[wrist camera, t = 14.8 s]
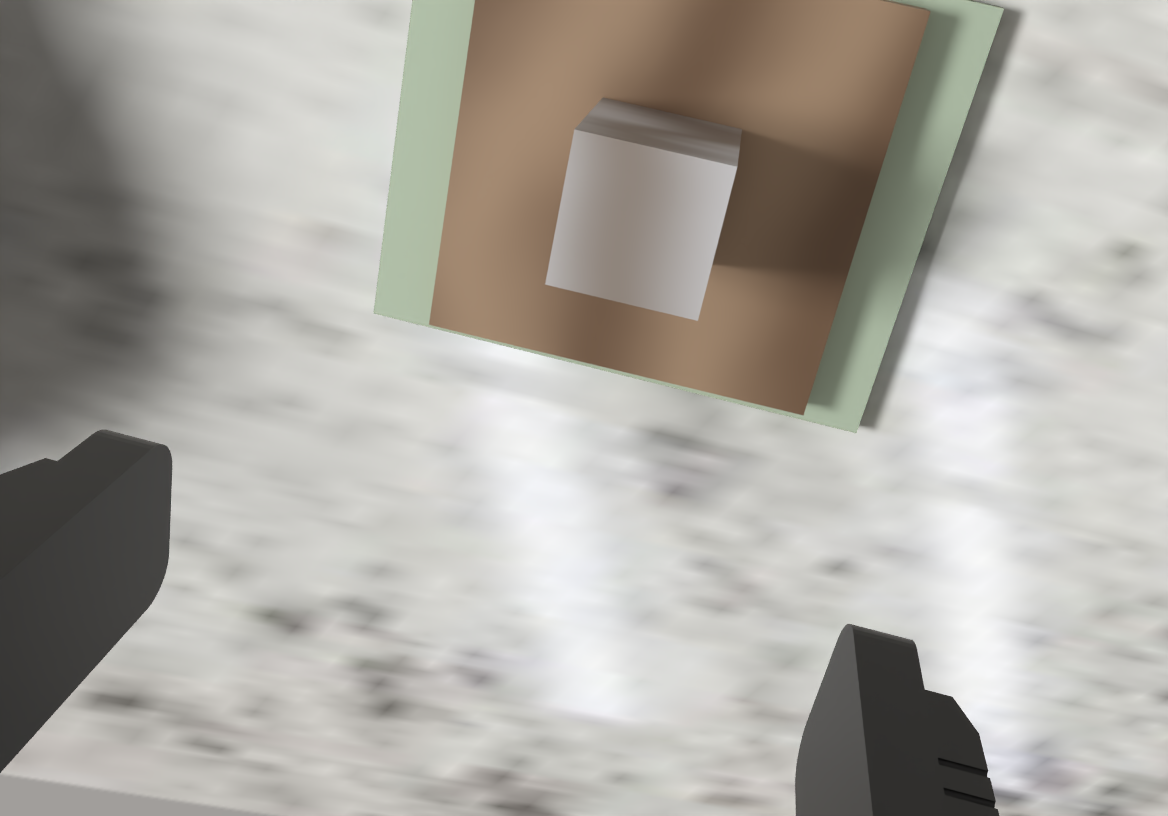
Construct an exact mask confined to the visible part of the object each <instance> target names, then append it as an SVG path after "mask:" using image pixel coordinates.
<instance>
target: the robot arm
mask: <svg viewBox="0 0 1168 816" xmlns="http://www.w3.org/2000/svg"><path fill="white" fill-rule="evenodd" d="M171 486H172V457H171V453H170V450H169V449H168V447H167V446H165V445H162V444H159V443H155V442H151V441H147V440H143V439H139V438H135V437H132V436H128V435H124V434H120V433H116V432H112V431H108V430H100V431H97V432H95V433H94V434H92V435H91V436H90V437H88V438H87V439H86V440H85V441H83V442H82V443H81V444H79V445H78V446H77V447H75V448H74V449H73V450H72V451H70V452H69V453H68V454H66V455H65V456H64V457H62V458H61V459H60V460H59V461H54V460H50V459H46V458H45V459H42V460H39V461H36V462H34V463H31V464H28V465H25V466H23V467H20V468H17V469H14V470H12V471H9V472H6V473H3V474H1V475H0V773H1V771H2V770H3V769H4V768H5V767H6V766H7V765H8V764H9V763H10V761H11V760H12V759H13V758H14V757H15V756H16V755H17V754H18V753H19V751H20V750H21V749H22V748H23V747H24V746H25V745H26V744H27V742H28V741H29V740H30V739H31V738H32V737H33V736H34V735H35V734H36V732H37V731H38V730H39V729H40V728H41V727H42V726H43V725H44V724H45V722H46V721H47V720H48V719H49V718H50V717H51V716H52V715H53V713H54V712H55V711H56V710H57V709H58V708H59V707H60V706H61V705H62V703H63V702H64V701H65V700H66V699H67V698H68V697H69V696H70V695H71V693H72V692H73V691H74V690H75V689H76V688H77V687H78V686H79V684H80V683H81V682H82V681H83V680H84V679H85V678H86V677H87V676H88V674H89V673H90V672H91V671H92V670H93V669H94V668H95V667H96V666H97V664H98V663H99V662H100V661H101V660H102V659H103V658H104V657H105V656H106V654H107V653H108V652H109V651H110V650H111V649H112V648H113V647H114V645H115V644H116V643H117V642H118V641H119V640H120V639H121V638H122V637H123V635H124V634H125V633H126V632H127V631H128V630H129V629H130V628H131V627H132V625H133V624H134V623H135V622H136V621H137V620H138V619H139V618H140V616H141V615H142V614H143V613H144V612H145V611H146V610H147V609H148V607H149V606H150V605H151V603H152V602H153V600H154V599H155V597H156V595H157V593H158V591H159V589H160V587H161V584H162V582H163V579H164V576H165V573H166V569H167V564H168V558H169V539H170V512H171ZM987 772H988V768H987V764H986V760H985V756H984V752H983V748H982V744H981V740H980V736H979V733H978V732H977V730H976V729H975V728H974V726H973V725H972V723H971V722H970V721H969V719H968V718H967V717H966V715H965V714H964V712H963V711H962V710H961V708H960V707H959V705H958V704H957V703H956V701H955V700H954V699H953V697H951V696H947V695H943V694H939V693H936V692H932V691H928V690H925V689H924V684H923V679H922V674H921V668H920V663H919V658H918V653H917V648H916V645H915V643H914V641H913V640H910V639H906V638H902V637H898V636H894V635H890V634H887V633H883V632H879V631H875V630H871V629H867V628H863V627H859V626H856V625H852V624H847V625H846V626H845V627H844V628H843V630H842V631H841V633H840V636H839V638H838V640H837V643H836V646H835V648H834V651H833V654H832V656H831V659H830V662H829V664H828V667H827V670H826V672H825V675H824V678H823V680H822V683H821V686H820V688H819V691H818V694H817V696H816V699H815V702H814V705H813V707H812V710H811V713H810V715H809V718H808V721H807V723H806V726H805V729H804V733H803V736H802V740H801V744H800V749H799V754H798V759H797V766H796V778H795V793H796V816H999V813H998V809H995V808H994V806H995V802H996V801H995V797H994V793H993V789H992V785H991V781H990V778H988V777H987Z"/></svg>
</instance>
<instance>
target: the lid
mask: <svg viewBox="0 0 1168 816" xmlns="http://www.w3.org/2000/svg"><path fill="white" fill-rule="evenodd" d="M930 12H931V11H929V10H927V9H926V8H921V7H917V6H912V5H908V4H903V3H899V2H894V1H890V0H475V4H474V11H473V18H472V25H471V32H470V39H469V46H468V53H467V60H466V67H465V74H464V81H463V88H462V95H461V102H460V109H459V116H458V123H457V130H456V137H455V144H454V151H453V159H452V166H451V173H450V180H449V187H448V194H447V201H446V208H445V215H444V222H443V229H442V236H441V243H440V250H439V257H438V264H437V271H436V278H435V285H434V292H433V299H432V306H431V313H430V320H429V325H432V326H436V327H440V328H444V329H448V330H452V331H457V332H461V333H465V334H469V335H473V336H477V337H481V338H485V339H490V340H494V341H498V342H502V343H506V344H510V345H514V346H518V347H523V348H527V349H531V350H535V351H539V352H543V353H547V354H551V355H556V356H560V357H564V358H568V359H572V360H576V361H580V362H584V363H589V364H593V365H597V366H601V367H605V368H609V369H613V370H618V371H622V372H626V373H630V374H634V375H638V376H642V377H646V378H651V379H655V380H659V381H663V382H667V383H671V384H675V385H679V386H684V387H688V388H692V389H696V390H700V391H704V392H708V393H712V394H717V395H721V396H725V397H729V398H733V399H737V400H741V401H745V402H750V403H754V404H758V405H762V406H766V407H770V408H774V409H779V410H783V411H787V412H791V413H795V414H799V415H803V416H804V412H805V409H806V406H807V403H808V400H809V396H810V393H811V390H812V387H813V384H814V381H815V377H816V374H817V371H818V368H819V365H820V362H821V358H822V355H823V352H824V349H825V346H826V342H827V339H828V336H829V333H830V330H831V327H832V323H833V320H834V317H835V314H836V311H837V308H838V304H839V301H840V298H841V295H842V292H843V288H844V285H845V282H846V279H847V276H848V273H849V269H850V266H851V263H852V260H853V257H854V254H855V250H856V247H857V244H858V241H859V238H860V234H861V231H862V228H863V225H864V222H865V219H866V215H867V212H868V209H869V206H870V203H871V200H872V196H873V193H874V190H875V187H876V184H877V180H878V177H879V174H880V171H881V168H882V165H883V161H884V158H885V155H886V152H887V149H888V146H889V142H890V139H891V136H892V133H893V130H894V126H895V123H896V120H897V117H898V114H899V111H900V107H901V104H902V101H903V98H904V95H905V92H906V88H907V85H908V82H909V79H910V76H911V72H912V69H913V66H914V63H915V60H916V57H917V53H918V50H919V47H920V44H921V41H922V38H923V34H924V31H925V28H926V25H927V22H928V18H929V15H930Z"/></svg>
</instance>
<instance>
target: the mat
mask: <svg viewBox="0 0 1168 816" xmlns="http://www.w3.org/2000/svg"><path fill="white" fill-rule="evenodd" d="M890 1H894V2H899V3H903V4H908V5H912V6H917V7H921V8H926V9H927V10H929V11H931V12H930V15H929V18H928V22H927V25H926V28H925V31H924V34H923V38H922V41H921V44H920V47H919V50H918V53H917V57H916V60H915V63H914V66H913V69H912V72H911V76H910V79H909V82H908V85H907V88H906V92H905V95H904V98H903V101H902V104H901V107H900V111H899V114H898V117H897V120H896V123H895V126H894V130H893V133H892V136H891V139H890V142H889V146H888V149H887V152H886V155H885V158H884V161H883V165H882V168H881V171H880V174H879V177H878V180H877V184H876V187H875V190H874V193H873V196H872V200H871V203H870V206H869V209H868V212H867V215H866V219H865V222H864V225H863V228H862V231H861V234H860V238H859V241H858V244H857V247H856V250H855V254H854V257H853V260H852V263H851V266H850V269H849V273H848V276H847V279H846V282H845V285H844V288H843V292H842V295H841V298H840V301H839V304H838V308H837V311H836V314H835V317H834V320H833V323H832V327H831V330H830V333H829V336H828V339H827V342H826V346H825V349H824V352H823V355H822V358H821V362H820V365H819V368H818V371H817V374H816V377H815V381H814V384H813V387H812V390H811V393H810V396H809V400H808V403H807V406H806V409H805V412H804V416H803V415H799V414H795V413H791V412H787V411H783V410H779V409H774V408H770V407H766V406H762V405H758V404H754V403H750V402H745V401H741V400H737V399H733V398H729V397H725V396H721V395H717V394H712V393H708V392H704V391H700V390H696V389H692V388H688V387H684V386H679V385H675V384H671V383H667V382H663V381H659V380H655V379H651V378H646V377H642V376H638V375H634V374H630V373H626V372H622V371H618V370H613V369H609V368H605V367H601V366H597V365H593V364H589V363H584V362H580V361H576V360H572V359H568V358H564V357H560V356H556V355H551V354H547V353H543V352H539V351H535V350H531V349H527V348H523V347H518V346H514V345H510V344H506V343H502V342H498V341H494V340H490V339H485V338H481V337H477V336H473V335H469V334H465V333H461V332H457V331H452V330H448V329H444V328H440V327H436V326H432V325H429V320H430V313H431V306H432V299H433V292H434V285H435V278H436V271H437V264H438V257H439V250H440V243H441V236H442V229H443V222H444V215H445V208H446V201H447V194H448V187H449V180H450V173H451V166H452V159H453V151H454V144H455V137H456V130H457V123H458V116H459V109H460V102H461V95H462V88H463V81H464V74H465V67H466V60H467V53H468V46H469V39H470V32H471V25H472V18H473V11H474V4H475V0H412V8H411V16H410V24H409V32H408V40H407V48H406V56H405V64H404V72H403V80H402V88H401V97H400V105H399V113H398V121H397V129H396V137H395V145H394V153H393V161H392V169H391V177H390V185H389V193H388V201H387V209H386V217H385V225H384V233H383V242H382V250H381V258H380V266H379V274H378V282H377V290H376V298H375V306H374V314H378V315H382V316H386V317H390V318H394V319H398V320H402V321H406V322H410V323H414V324H418V325H422V326H426V327H430V328H434V329H438V330H442V331H446V332H450V333H455V334H459V335H463V336H467V337H471V338H475V339H479V340H483V341H487V342H491V343H495V344H499V345H503V346H507V347H511V348H515V349H519V350H523V351H527V352H531V353H535V354H539V355H543V356H547V357H551V358H555V359H559V360H563V361H567V362H571V363H575V364H579V365H583V366H587V367H591V368H596V369H600V370H604V371H608V372H612V373H616V374H620V375H624V376H628V377H632V378H636V379H640V380H644V381H648V382H652V383H656V384H660V385H664V386H668V387H672V388H676V389H680V390H684V391H688V392H692V393H696V394H700V395H704V396H708V397H712V398H716V399H720V400H724V401H728V402H732V403H737V404H741V405H745V406H749V407H753V408H757V409H761V410H765V411H769V412H773V413H777V414H781V415H785V416H789V417H793V418H797V419H801V420H805V421H809V422H813V423H817V424H821V425H825V426H829V427H833V428H837V429H841V430H845V431H849V432H853V433H857V430H858V427H859V424H860V421H861V418H862V415H863V413H864V410H865V407H866V404H867V401H868V398H869V395H870V392H871V390H872V387H873V384H874V381H875V378H876V375H877V372H878V369H879V367H880V364H881V361H882V358H883V355H884V352H885V349H886V347H887V344H888V341H889V338H890V335H891V332H892V329H893V326H894V324H895V321H896V318H897V315H898V312H899V309H900V306H901V303H902V301H903V298H904V295H905V292H906V289H907V286H908V283H909V280H910V278H911V275H912V272H913V269H914V266H915V263H916V260H917V258H918V255H919V252H920V249H921V246H922V243H923V240H924V237H925V235H926V232H927V229H928V226H929V223H930V220H931V217H932V214H933V212H934V209H935V206H936V203H937V200H938V197H939V194H940V191H941V189H942V186H943V183H944V180H945V177H946V174H947V171H948V169H949V166H950V163H951V160H952V157H953V154H954V151H955V148H956V146H957V143H958V140H959V137H960V134H961V131H962V128H963V125H964V123H965V120H966V117H967V114H968V111H969V108H970V105H971V103H972V100H973V97H974V94H975V91H976V88H977V85H978V82H979V80H980V77H981V74H982V71H983V68H984V65H985V62H986V59H987V57H988V54H989V51H990V48H991V45H992V42H993V39H994V36H995V34H996V31H997V28H998V25H999V22H1000V19H1001V16H1002V14H1003V11H1004V8H1001V7H998V6H993V5H989V4H984V3H980V2H976V1H971V0H890Z"/></svg>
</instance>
